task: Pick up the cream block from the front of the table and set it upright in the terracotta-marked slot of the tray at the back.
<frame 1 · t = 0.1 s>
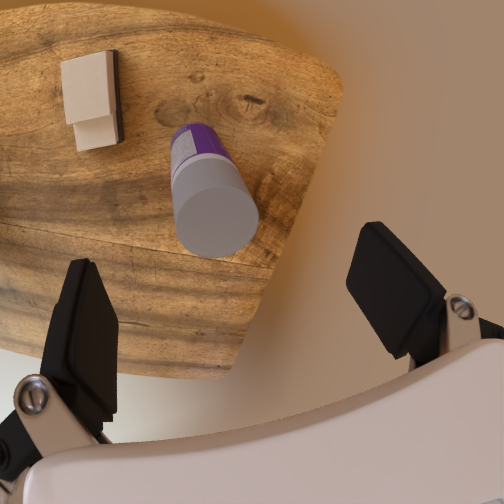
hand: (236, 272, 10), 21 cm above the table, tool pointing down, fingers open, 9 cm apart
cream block: (97, 99, 21), on the table
container: (194, 144, 27), on the table
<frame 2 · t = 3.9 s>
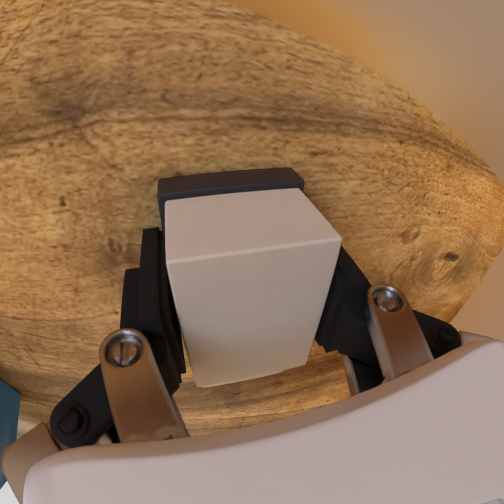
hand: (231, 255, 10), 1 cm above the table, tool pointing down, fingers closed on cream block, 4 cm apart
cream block: (229, 276, 12), on the table, touching gripper
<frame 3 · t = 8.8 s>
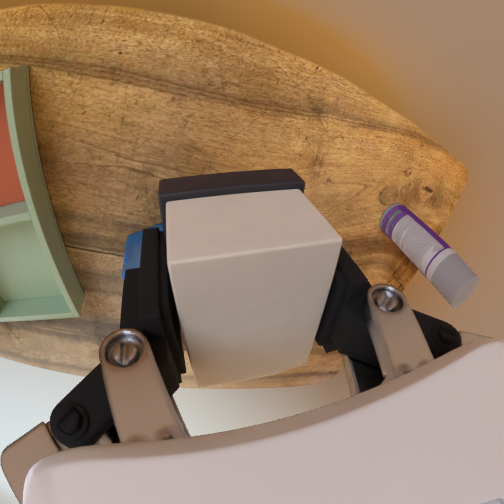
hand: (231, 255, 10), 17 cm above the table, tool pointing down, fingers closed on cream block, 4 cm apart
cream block: (229, 276, 12), point 17 cm above the table, touching gripper
tray: (0, 207, 21), on the table
container: (392, 217, 36), on the table
perfume bottle: (165, 247, 30), on the table
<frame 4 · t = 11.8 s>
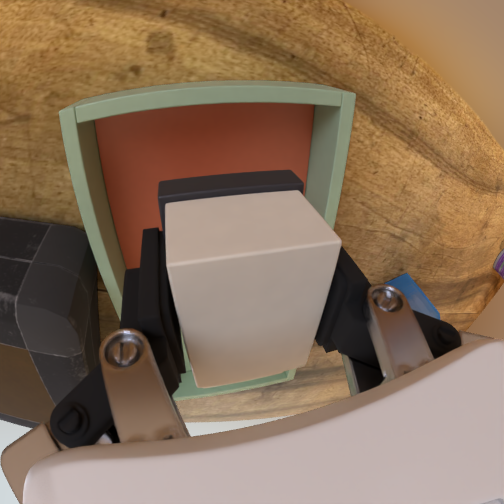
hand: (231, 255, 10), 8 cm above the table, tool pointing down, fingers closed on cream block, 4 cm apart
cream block: (229, 277, 12), point 7 cm above the table, touching gripper
tray: (213, 272, 21), on the table
container: (500, 257, 36), on the table
perfume bottle: (380, 300, 30), on the table
when the fingers open (1 cm above the table, at t = 13.9 s): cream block stays where it is, resting on tray.
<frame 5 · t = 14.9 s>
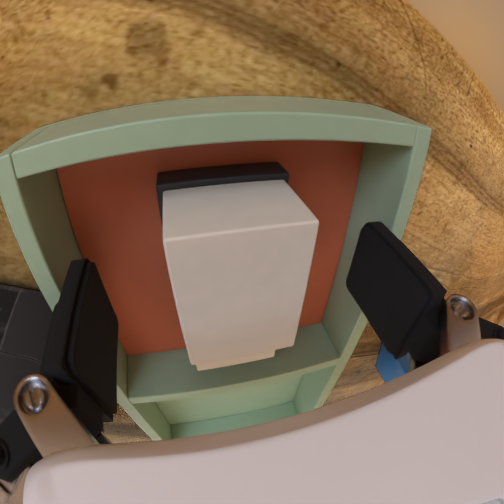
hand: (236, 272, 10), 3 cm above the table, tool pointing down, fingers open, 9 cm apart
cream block: (222, 263, 13), point 1 cm above the table, touching tray
tray: (224, 335, 17), on the table
perfume bottle: (403, 338, 26), on the table
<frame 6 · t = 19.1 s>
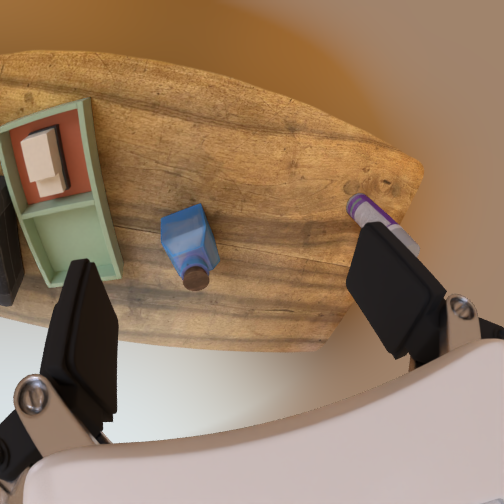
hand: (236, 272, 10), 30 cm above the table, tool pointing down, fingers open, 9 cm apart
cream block: (50, 159, 30), point 1 cm above the table, touching tray
tray: (62, 197, 34), on the table
container: (356, 204, 49), on the table
perfume bottle: (187, 226, 43), on the table
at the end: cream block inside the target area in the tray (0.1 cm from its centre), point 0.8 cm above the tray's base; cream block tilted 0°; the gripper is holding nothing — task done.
